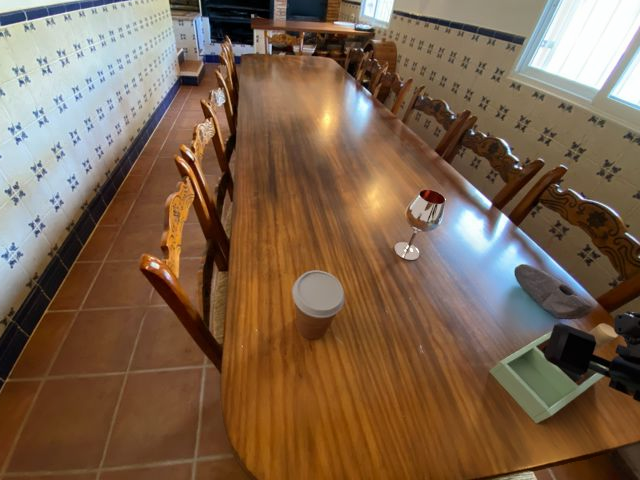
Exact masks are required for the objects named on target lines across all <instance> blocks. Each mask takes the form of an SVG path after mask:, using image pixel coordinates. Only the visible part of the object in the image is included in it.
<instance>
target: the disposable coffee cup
mask: <svg viewBox="0 0 640 480" xmlns="http://www.w3.org/2000/svg"><path fill="white" fill-rule="evenodd" d="M291 293H292V295H291V296H292V299H293V302H294V308H295V309H294V310H295V311H294V312H295V323H296V324H295V325H296V329H297V331H298V333H299V334H300V335H301V336H302V337H304V339H305V338H306V339H308V340H319V339H320V338H321V339H322V337H324V336H325V334H326V332H327V331H328V329H329V327H330V326H331V324H332V322H333V320H334V318H335V317H336V315H337V313H339V312H340V311H341V310H342V309H343V307H344V304H345V301H346V295H345V289H344V288H343V285H342V283H341V282H340V280H339V279H338V278H337V277H336V276H335V275H334V274H332V273H329V272H328V271H324V270H317V269H313V270H309V271H306V272H304V273H302V275H300V276H299V277H298V278H297V279H296V281H295V282H294V284H293V286H292V291H291Z"/></svg>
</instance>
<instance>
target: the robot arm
mask: <svg viewBox="0 0 640 480" xmlns="http://www.w3.org/2000/svg"><path fill="white" fill-rule="evenodd" d="M613 328H614V331H615V333H616V334H618V336H620V337H622V338H623V341H624V342H625V345H626V346H625V345H622V344H618V343H617V346H616V348H615V354H617V355H616V356H615V357H613V358H612V359H611V360H608V359H606V358H604V357H601V356H598V355H595V354H594V353H595V351H594V349H595V346H596V340H595V337H594V335H591V334H589V333H588V332H586V331H583V330H580V329H578V328H575V327H573V326H571V325H568V324H564V323H562V322H559V323H555V324H554V325H553V328H552V330H551V331H552V333H551V336H550V339H549V342H548V345H547V348H546V351H545V353H544V357H545V359H546V360H547V361H548V362H550V363H552V364H554V365H556V366H558V367H561V368H563V369H565V370H568V371H570V372H572V373H575V374H577V375H579V376H581V375H583V374H584V373H586V372H587V370H588V369H589V370H592V371H594V372H596V373H599V374H601V375H604V376H603V377H606V378H609V379H610V380H609V383H608V387H609V388H611V389H613V390H615V391H617V392H620V393H623V394H625V395H626V396H629V397H631V398H632V399H633V400H634V401H636V402H638V403H640V312H633V311H630V310H627V311H626V312H625V313H620V314H617V315H615V317H614V324H613ZM590 361H592V362H595V363H597V364H600V365H602V366H604V367H605V368H607V369H608V370H607V369H604V368H603V367H602V368H601V367H600V366H598V365H594V364H593V363H592V364H591V363H590Z"/></svg>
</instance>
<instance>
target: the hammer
mask: <svg viewBox="0 0 640 480" xmlns="http://www.w3.org/2000/svg"><path fill="white" fill-rule="evenodd" d="M587 333H589V334H591V335H594V337H595V340H596V346H595V349H594V352H596V351H597V350H600V349H601V348H602V347H604V346H606V345H607V344H608V343H610V342H611V341H613V340H615V339H616V338H618V337H619V335H618V334H616V333H615V331H614V327H613V326H611V325H609V324H608V323H607V324H606V323H604V322H603V323H599V324H598V325H596V326H595V327H593V328H592V329H591V330H589V332H587ZM546 348H547V345H546V346H545V347H544V348H543V351H544V353H545V351H546ZM557 367H558V366H557ZM558 368H560V369H561V370H562V371H563V372H564V373H565V374H566V375H567V376H568V377H569V378H570V379H571V380H572V381H574V382H577V381H579V380H580V379H582V378H583V375H581V376H579V375H577V374H575V373H572V372H570V371H568V370H565V369H563V368H561V367H558Z"/></svg>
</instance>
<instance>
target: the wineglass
mask: <svg viewBox="0 0 640 480" xmlns="http://www.w3.org/2000/svg"><path fill="white" fill-rule="evenodd" d="M446 200H447V199H446V198H445V196H444V195H443V194H442V193H441V192H439V191H436V190H433V189H429V188H428V189H427V188H426V189H425V188H424V189H421V190H420V191H418V193H417V194H416V195H415V196H414V198H413V199H412V200H410V202H409V204H408V205H407V206H406V208H405V211H404V217H405V220H406V222H407V224H408V225H409V227H410V228H411V229H412V230H413V231H412V232H413V233H412V235H411V237H410V240H409V241H408V242H405V241H400V242H397V243H396V244H395V245H394V247H393V248H394V252H395V254H396V255H397V256H399V257H400V258H401V259H404V260H406V261H415V260H417V259H418V258H419V257H420V251H419V249H418V248H417V247H416V246H415V245H414V244H413V242H414V240H415V238H416V236H417V234H418V233H426V232H431V231H433V230H434V231H435V229H437V228H438V227H439V226H440V225H441V223H442V221H443V219H444V214H445V208H446V202H447V201H446Z"/></svg>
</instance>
